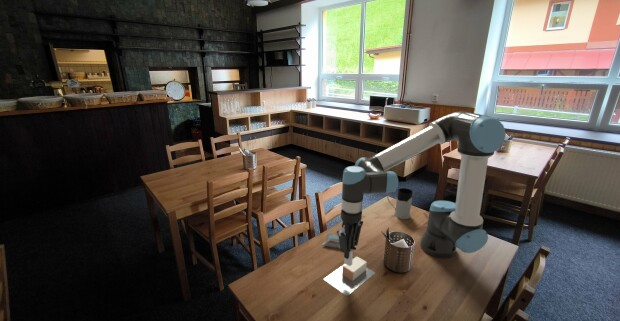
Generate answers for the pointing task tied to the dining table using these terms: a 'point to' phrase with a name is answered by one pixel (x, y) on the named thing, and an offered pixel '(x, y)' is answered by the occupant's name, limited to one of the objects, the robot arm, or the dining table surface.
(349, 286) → the board
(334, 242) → the packaged food
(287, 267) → the dining table surface
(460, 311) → the dining table surface
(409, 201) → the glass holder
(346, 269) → the block
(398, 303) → the dining table surface
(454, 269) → the dining table surface
